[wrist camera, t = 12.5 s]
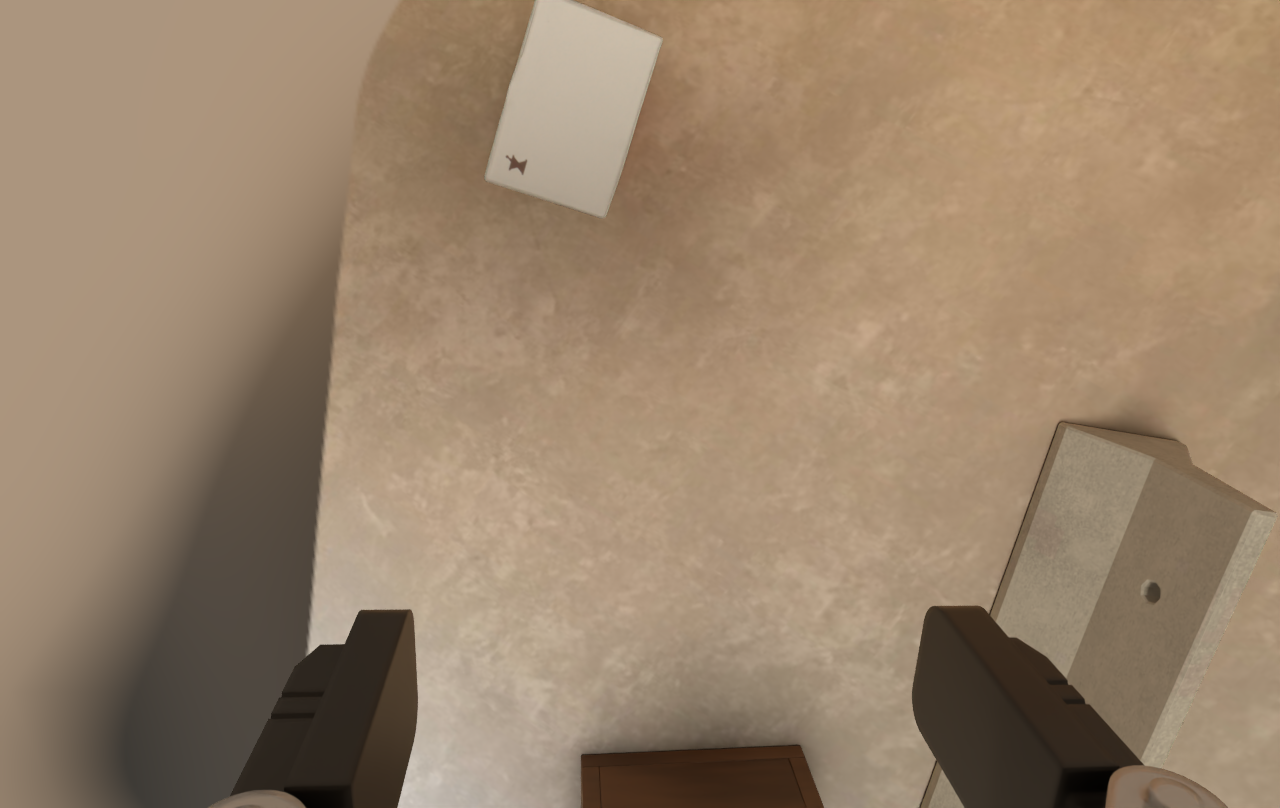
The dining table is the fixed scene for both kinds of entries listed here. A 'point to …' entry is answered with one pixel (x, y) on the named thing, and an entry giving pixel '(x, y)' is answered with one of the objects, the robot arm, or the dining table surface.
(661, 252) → the dining table surface
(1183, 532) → the barrier
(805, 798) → the chest
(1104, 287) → the dining table surface
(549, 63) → the cosmetic box
